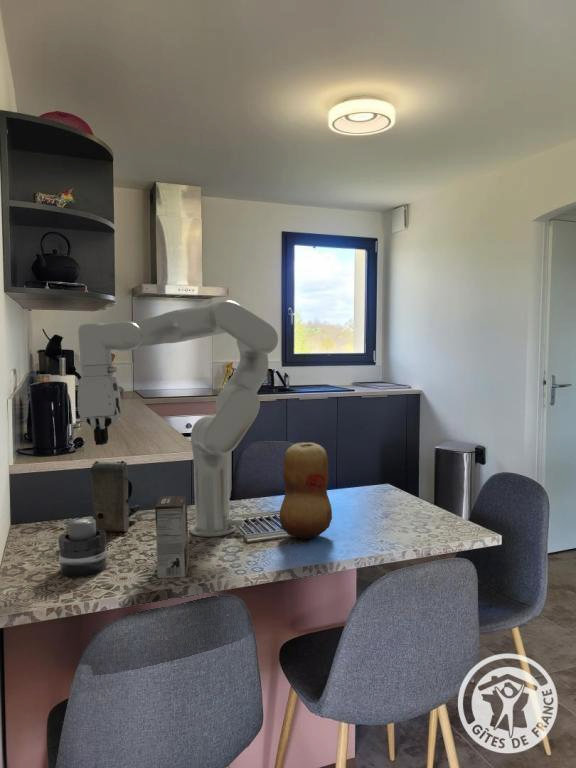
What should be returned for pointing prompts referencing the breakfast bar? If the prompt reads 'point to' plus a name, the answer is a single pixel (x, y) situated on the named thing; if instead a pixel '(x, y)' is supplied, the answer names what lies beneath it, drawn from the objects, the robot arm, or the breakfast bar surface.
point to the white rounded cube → (82, 529)
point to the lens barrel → (82, 555)
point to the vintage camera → (111, 496)
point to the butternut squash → (305, 491)
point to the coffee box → (172, 536)
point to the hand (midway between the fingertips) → (101, 443)
